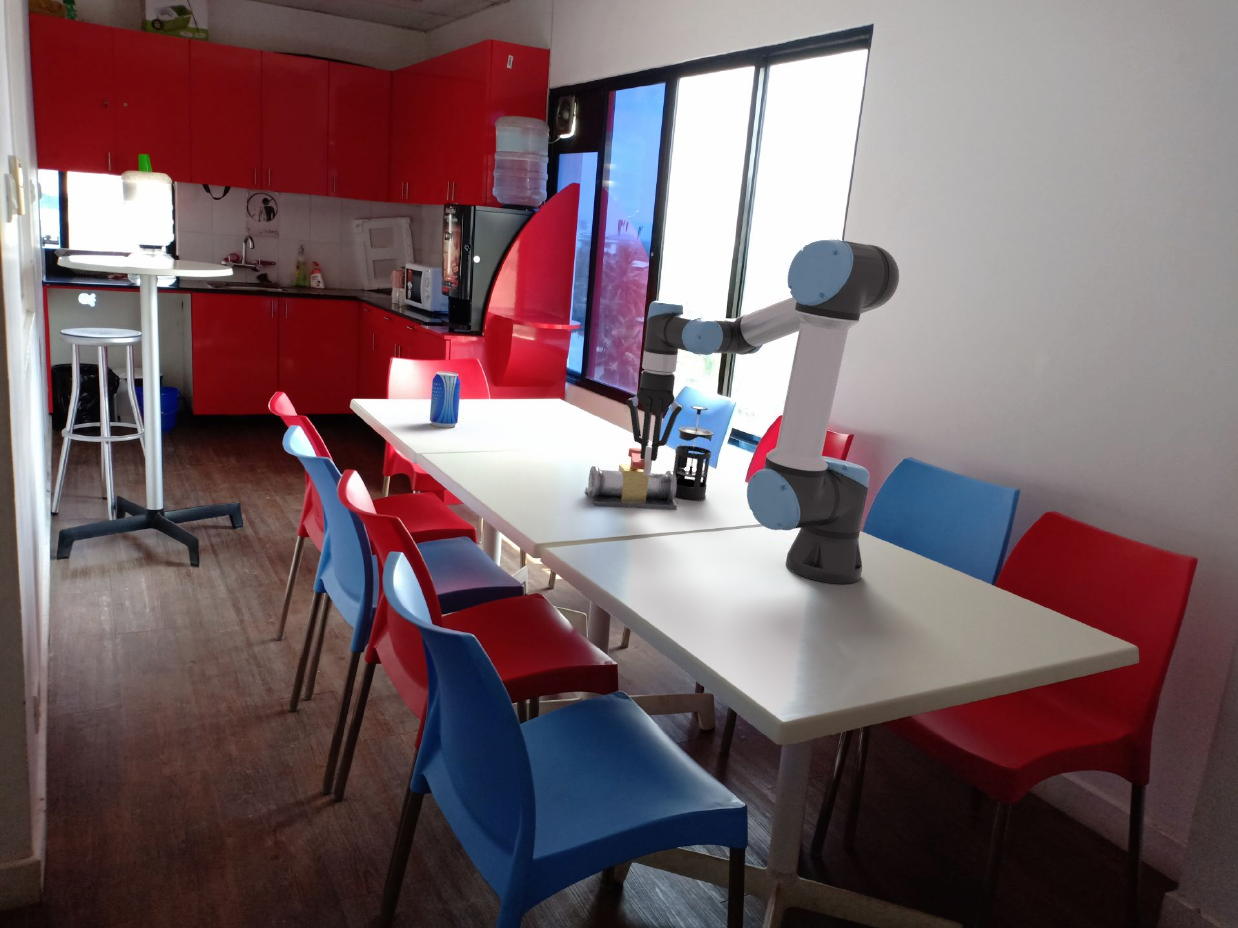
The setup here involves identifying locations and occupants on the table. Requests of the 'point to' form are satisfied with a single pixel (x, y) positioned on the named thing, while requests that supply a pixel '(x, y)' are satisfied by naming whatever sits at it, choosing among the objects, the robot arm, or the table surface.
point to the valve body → (632, 488)
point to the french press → (690, 487)
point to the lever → (636, 458)
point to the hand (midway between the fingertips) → (646, 473)
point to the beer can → (445, 399)
